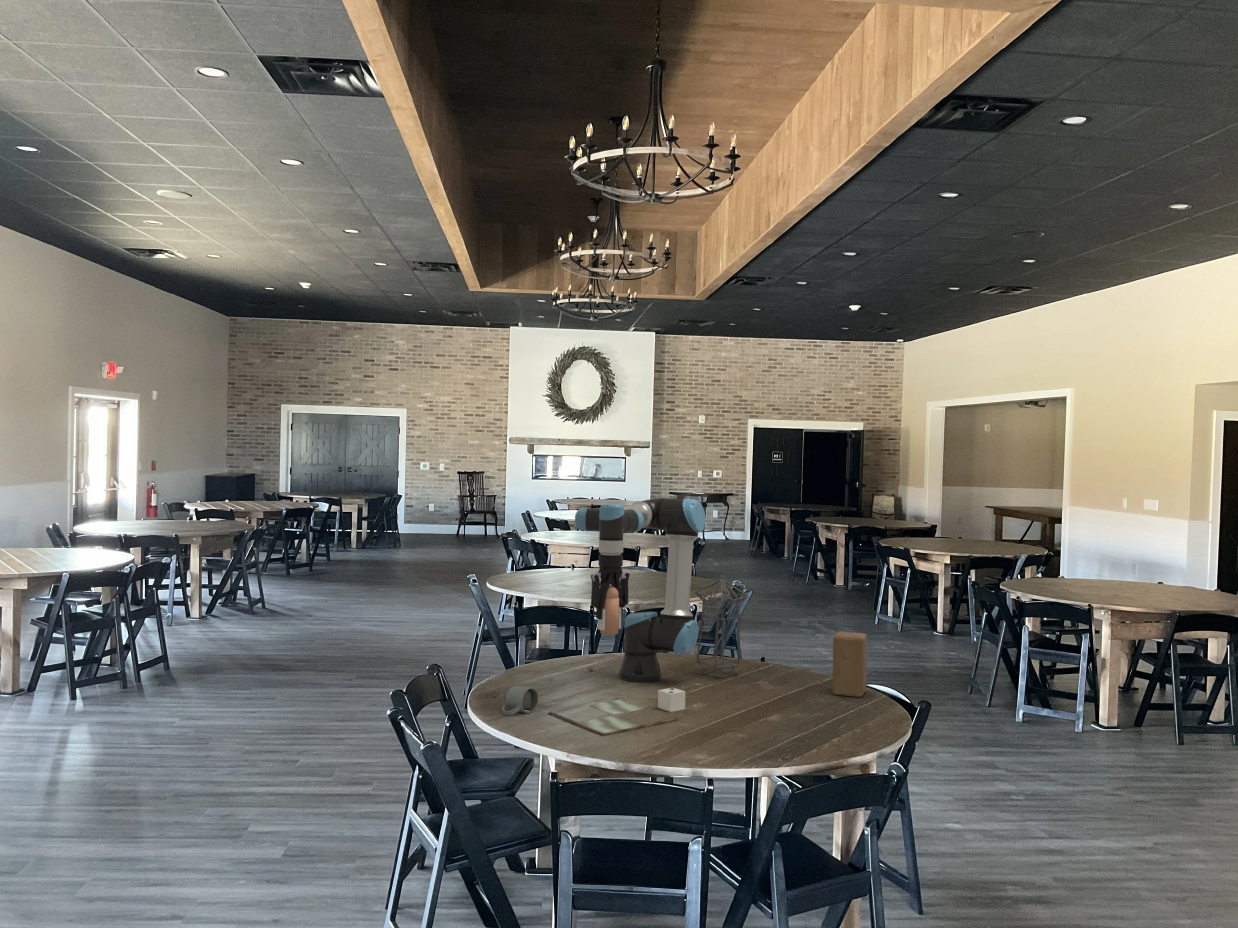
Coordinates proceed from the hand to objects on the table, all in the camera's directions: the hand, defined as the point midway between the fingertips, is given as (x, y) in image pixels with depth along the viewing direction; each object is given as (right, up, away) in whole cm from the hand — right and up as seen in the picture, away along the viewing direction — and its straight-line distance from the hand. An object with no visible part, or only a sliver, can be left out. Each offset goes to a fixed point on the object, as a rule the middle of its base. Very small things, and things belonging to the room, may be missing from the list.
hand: (609, 628), depth 287 cm
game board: (+1, -25, -8) cm, 26 cm away
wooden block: (+81, -27, +26) cm, 89 cm away
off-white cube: (+19, -26, +1) cm, 32 cm away
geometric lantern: (+40, -26, +52) cm, 70 cm away
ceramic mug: (-28, -25, -3) cm, 38 cm away
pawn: (0, -1, 0) cm, 1 cm away
